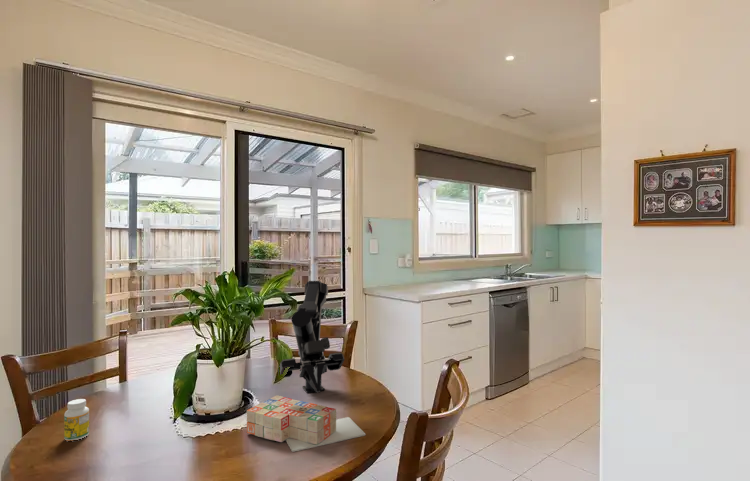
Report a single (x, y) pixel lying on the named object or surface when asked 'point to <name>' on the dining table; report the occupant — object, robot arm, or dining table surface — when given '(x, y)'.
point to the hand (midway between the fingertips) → (318, 391)
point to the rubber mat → (343, 432)
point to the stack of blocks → (291, 420)
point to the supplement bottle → (76, 420)
